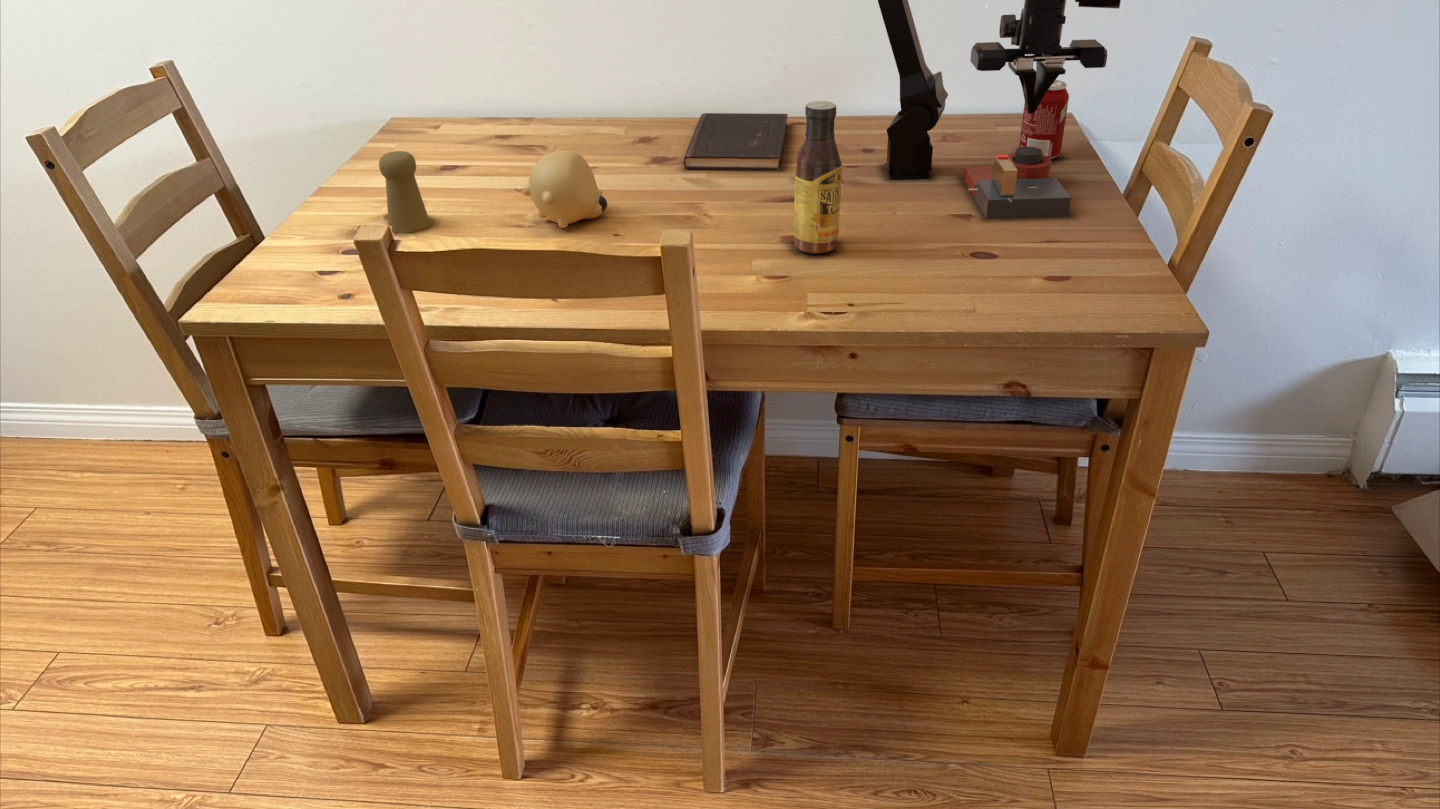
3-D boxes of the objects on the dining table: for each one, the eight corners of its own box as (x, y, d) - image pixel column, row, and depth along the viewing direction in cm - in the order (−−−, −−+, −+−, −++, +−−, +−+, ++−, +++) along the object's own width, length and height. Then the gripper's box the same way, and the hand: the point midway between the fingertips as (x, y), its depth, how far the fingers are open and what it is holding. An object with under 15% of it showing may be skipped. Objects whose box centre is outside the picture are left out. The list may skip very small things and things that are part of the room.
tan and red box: (1014, 196, 154) (1017, 168, 152) (1000, 196, 154) (1003, 168, 152) (1004, 181, 159) (1008, 154, 157) (991, 181, 159) (994, 154, 157)
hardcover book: (787, 126, 193) (787, 113, 192) (779, 170, 174) (780, 156, 173) (700, 125, 195) (700, 113, 194) (683, 169, 176) (683, 155, 174)
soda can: (1050, 165, 172) (1061, 92, 166) (1011, 158, 176) (1020, 85, 169) (1066, 154, 177) (1077, 81, 170) (1028, 146, 180) (1037, 75, 174)
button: (1017, 166, 162) (1019, 155, 161) (1011, 157, 166) (1012, 146, 165) (1043, 165, 162) (1045, 154, 161) (1037, 157, 166) (1038, 146, 165)
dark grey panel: (973, 222, 154) (975, 202, 152) (959, 196, 162) (961, 176, 161) (1070, 219, 154) (1073, 199, 152) (1051, 194, 162) (1054, 174, 160)
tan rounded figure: (591, 250, 158) (630, 191, 158) (540, 209, 148) (582, 147, 149) (553, 230, 164) (591, 173, 164) (502, 189, 154) (542, 129, 155)
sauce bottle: (825, 259, 144) (829, 115, 134) (785, 250, 147) (786, 108, 137) (846, 242, 149) (852, 102, 138) (807, 234, 152) (810, 95, 141)
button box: (973, 197, 162) (976, 172, 160) (962, 178, 169) (965, 153, 167) (1055, 195, 162) (1059, 170, 160) (1040, 175, 169) (1044, 151, 167)
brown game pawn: (393, 236, 155) (378, 163, 149) (384, 222, 160) (369, 151, 154) (434, 227, 158) (421, 155, 152) (424, 214, 162) (411, 144, 156)
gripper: (1092, -9, 159) (1076, 95, 167) (968, -5, 159) (958, 99, 167) (1116, 8, 149) (1098, 117, 158) (984, 11, 149) (972, 121, 158)
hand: (1030, 112), depth 160 cm, fingers closed
